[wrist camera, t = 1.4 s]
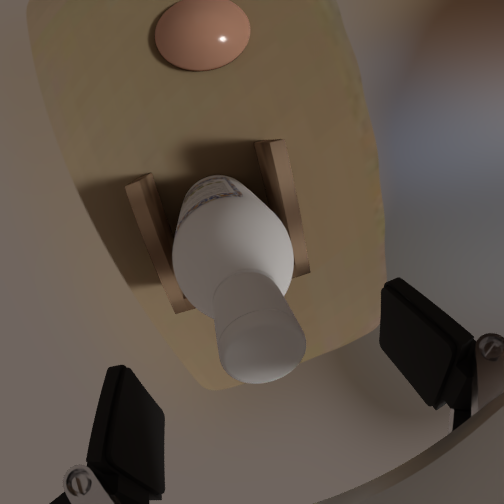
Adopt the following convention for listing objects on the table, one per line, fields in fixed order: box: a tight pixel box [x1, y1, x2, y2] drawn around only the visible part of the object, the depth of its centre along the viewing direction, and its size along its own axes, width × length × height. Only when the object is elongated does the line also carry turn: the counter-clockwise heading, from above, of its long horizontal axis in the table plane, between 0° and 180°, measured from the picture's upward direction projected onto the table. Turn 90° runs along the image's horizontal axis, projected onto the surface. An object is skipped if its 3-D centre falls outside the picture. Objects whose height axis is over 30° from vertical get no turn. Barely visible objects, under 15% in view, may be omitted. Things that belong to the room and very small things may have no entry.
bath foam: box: [172, 175, 306, 384], centre depth 18 cm, size 7×7×20 cm
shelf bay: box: [125, 139, 310, 314], centre depth 24 cm, size 12×12×6 cm
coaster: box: [155, 0, 250, 71], centre depth 19 cm, size 9×9×1 cm
